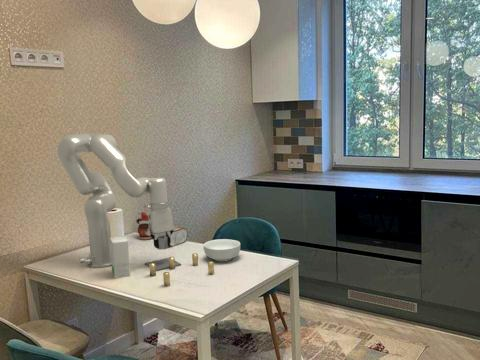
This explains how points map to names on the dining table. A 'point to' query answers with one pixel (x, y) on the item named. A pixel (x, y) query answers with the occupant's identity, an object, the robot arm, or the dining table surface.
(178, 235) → the tin
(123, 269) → the skincare box
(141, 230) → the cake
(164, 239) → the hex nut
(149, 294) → the dining table surface
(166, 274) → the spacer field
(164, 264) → the mat
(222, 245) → the cereal bowl
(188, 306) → the dining table surface
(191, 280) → the dining table surface
